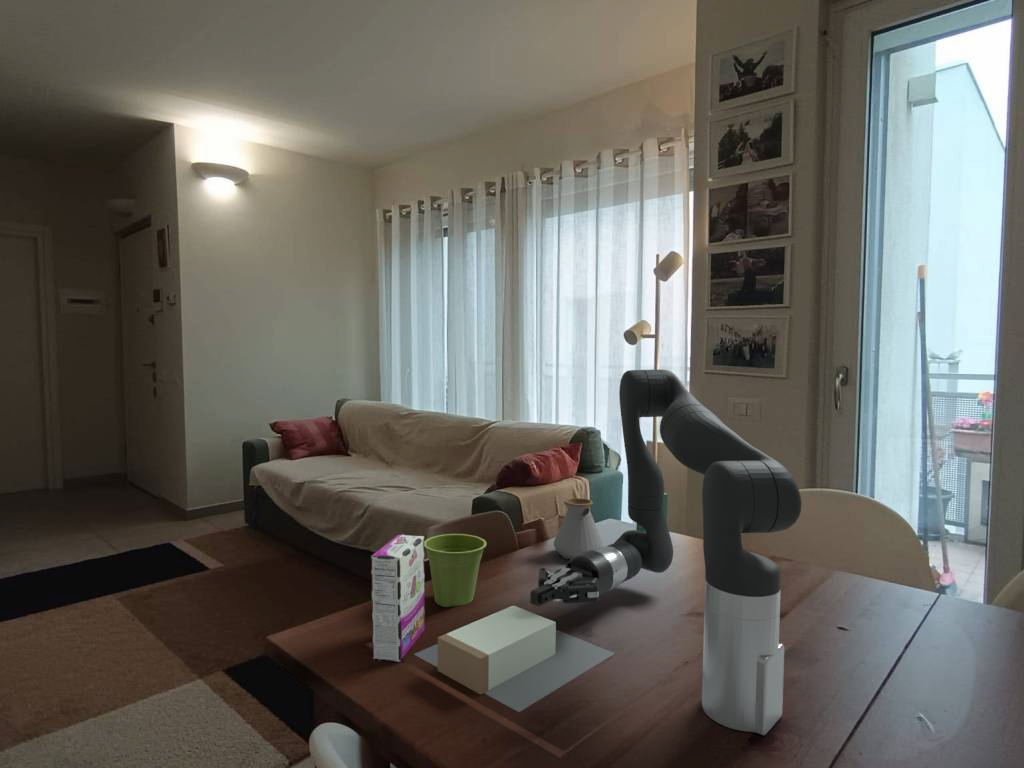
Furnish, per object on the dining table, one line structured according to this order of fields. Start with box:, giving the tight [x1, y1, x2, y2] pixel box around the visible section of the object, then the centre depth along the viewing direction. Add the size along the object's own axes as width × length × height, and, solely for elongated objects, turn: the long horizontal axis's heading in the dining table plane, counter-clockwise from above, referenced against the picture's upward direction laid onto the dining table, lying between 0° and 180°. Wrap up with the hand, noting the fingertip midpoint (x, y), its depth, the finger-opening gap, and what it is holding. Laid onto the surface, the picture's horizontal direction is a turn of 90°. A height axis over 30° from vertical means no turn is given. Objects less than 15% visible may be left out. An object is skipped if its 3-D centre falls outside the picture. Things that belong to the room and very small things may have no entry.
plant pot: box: [424, 533, 487, 608], centre depth 117 cm, size 12×12×11 cm
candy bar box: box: [370, 534, 426, 663], centre depth 99 cm, size 11×5×16 cm, turn 168°
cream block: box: [437, 605, 557, 696], centre depth 93 cm, size 9×5×16 cm
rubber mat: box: [413, 629, 616, 713], centre depth 96 cm, size 22×22×1 cm
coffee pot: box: [553, 497, 604, 561], centre depth 139 cm, size 21×12×15 cm, turn 0°
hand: (533, 598), depth 98 cm, fingers closed
